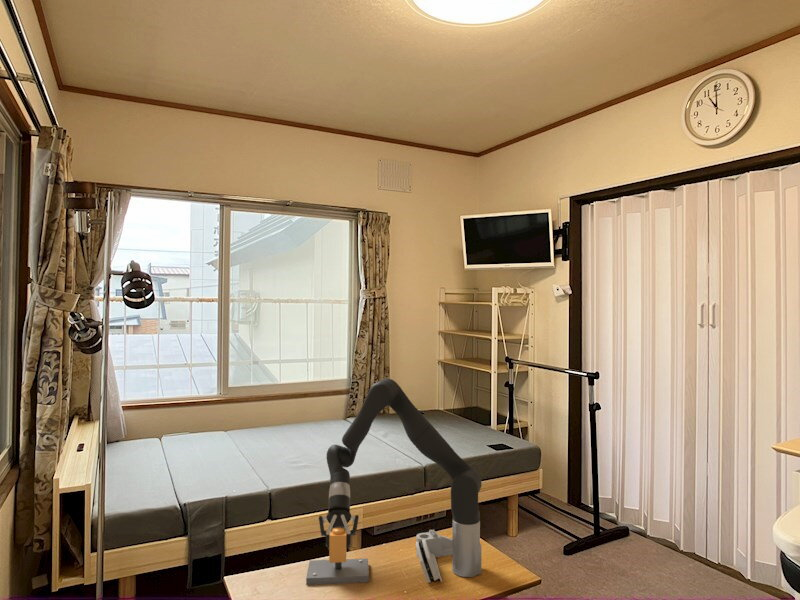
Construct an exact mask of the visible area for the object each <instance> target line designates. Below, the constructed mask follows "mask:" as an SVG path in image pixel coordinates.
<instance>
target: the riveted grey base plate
mask: <svg viewBox="0 0 800 600" xmlns="http://www.w3.org/2000/svg"><path fill="white" fill-rule="evenodd" d="M369 574H370V573H369V558H346V562H337V563H329V559H316V560H315V559H314V560H309V562H308V566H307V572H306V576H305V577H306V578H305V580H306V581H305V585H324V584H325V585H327V584H328V585H330V584H333V585H334V584H352V583H353V584H355V583H356V584H357V583H358V584H359V583H369V582H370V581H369V580H370V577H369V576H370V575H369Z"/></svg>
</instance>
